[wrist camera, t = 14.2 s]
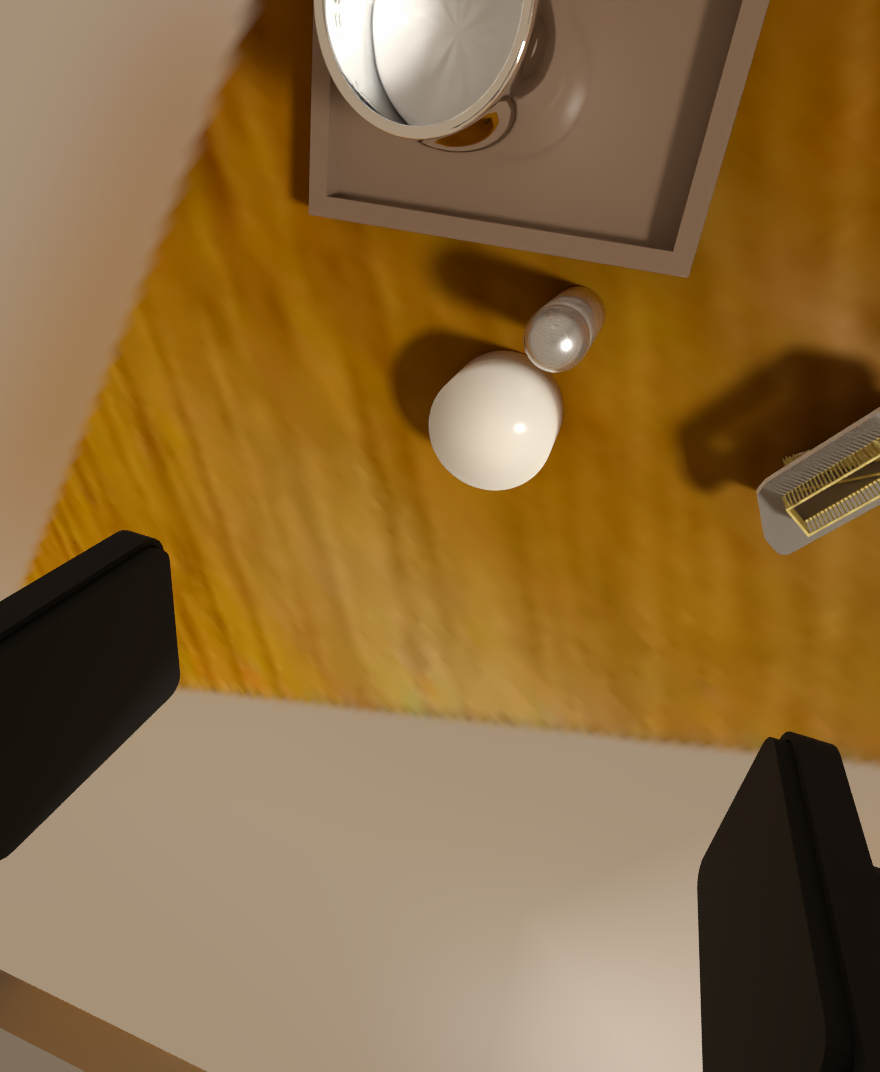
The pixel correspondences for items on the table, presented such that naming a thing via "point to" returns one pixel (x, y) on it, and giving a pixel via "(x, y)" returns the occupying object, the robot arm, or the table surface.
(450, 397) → the white rounded cylinder
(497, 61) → the silver metal tumbler
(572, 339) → the salt shaker
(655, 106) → the tray
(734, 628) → the table surface
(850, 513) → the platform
